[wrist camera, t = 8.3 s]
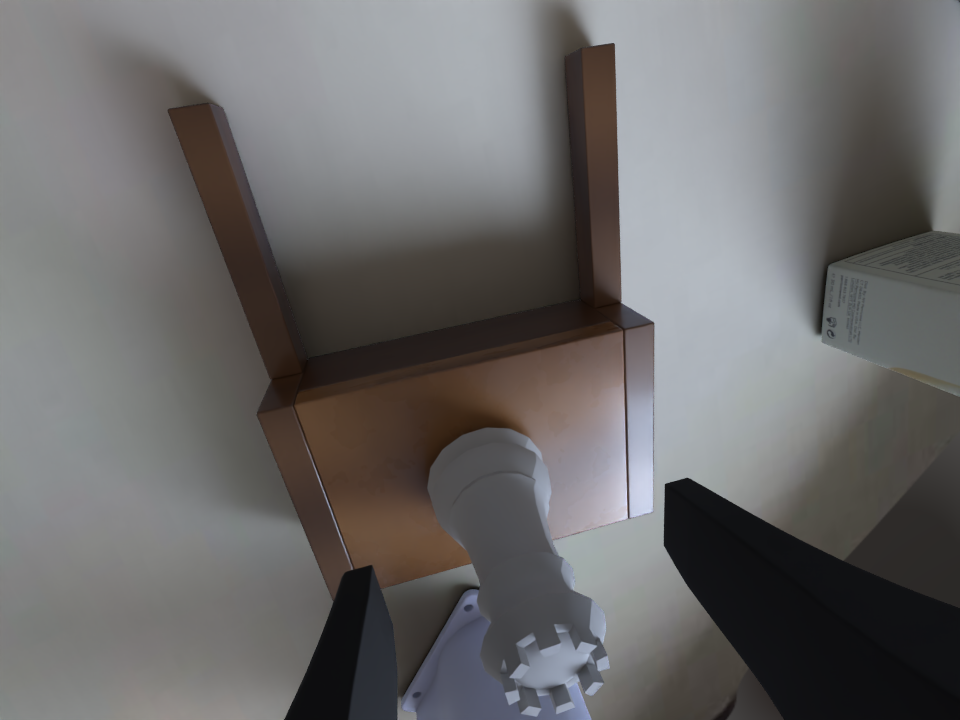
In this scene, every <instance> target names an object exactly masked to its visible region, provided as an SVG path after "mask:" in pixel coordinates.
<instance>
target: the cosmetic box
mask: <svg viewBox="0 0 960 720" xmlns="http://www.w3.org/2000/svg"><path fill="white" fill-rule="evenodd" d="M822 323H823V325H822V342H823V343H824V344H826V345H829V346H831V347H834V348H837V349H839V350H842V351H844V352H847V353H849V354H852V355H854V356H857V357H860V358H862V359H865V360H867V361H870V362H872V363H875V364H877V365H880V366H883V367H885V368H888V369H891V370H893V371H896V372H899V373H901V374H903V375H906V376H908V377H911V378H914V379H917V380H919V381H921V382H924V383H926V384H929V385H932V386H934V387H936V388H939V389H942V390H944V391H947V392H949V393H952V394H954V395H957V396H959V397H960V234H956V233H948V232H940V231H930V232H927V233H924V234H920V235H917V236H913V237H910V238H906V239H903V240H900V241H897V242H894V243H890V244H887V245H884V246H881V247H878V248H875V249H872V250H869V251H866V252H863V253H860V254H858V255H855V256H852V257H849V258H846V259H843V260H841V261H838V262H835V263H832V264H830V265H829V266H828V273H827V282H826V290H825V300H824V310H823V322H822Z"/></svg>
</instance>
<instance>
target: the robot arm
mask: <svg viewBox="0 0 960 720" xmlns="http://www.w3.org/2000/svg"><path fill="white" fill-rule="evenodd" d="M664 547H665V548H666V550H667V552H668V554H669V555H670V557H671V559H672V561H673V562H674V564H675V566H676V568H677V569H678V571H679V573H680V574H681V576H682V578H683V579H684V581H685V583H686V584H687V586H688V587H689V588H690V590H691V591H692V592H693V594H694V595H695V597H696V598H697V599H698V601H699V602H700V603H701V605H702V606H703V607H704V609H705V610H706V611H707V613H708V614H709V615H710V617H711V618H712V619H713V621H714V622H715V623H716V625H717V626H718V627H719V629H720V630H721V631H722V633H723V634H724V635H725V637H726V638H727V639H728V641H729V642H730V643H731V644H732V646H733V647H734V648H735V650H736V651H737V652H738V654H739V655H740V656H741V658H742V659H743V660H744V662H745V663H746V664H747V666H748V667H749V668H750V670H751V671H752V672H753V674H754V675H755V676H756V678H757V679H758V681H759V682H760V684H761V685H762V686H763V688H764V689H765V691H766V692H767V693H768V695H769V697H770V698H771V700H772V701H773V703H774V704H775V706H776V707H777V709H778V711H779V712H780V714H781V716H782V717H783V718H784V720H960V608H958V607H955V606H952V605H950V604H947V603H944V602H942V601H939V600H936V599H934V598H931V597H928V596H925V595H923V594H920V593H917V592H915V591H913V590H910V589H907V588H905V587H902V586H900V585H897V584H895V583H892V582H890V581H888V580H886V579H883V578H881V577H879V576H876V575H874V574H872V573H869V572H867V571H865V570H862V569H860V568H857V567H855V566H853V565H851V564H849V563H847V562H844V561H842V560H840V559H838V558H836V557H834V556H832V555H830V554H828V553H826V552H824V551H822V550H819V549H817V548H815V547H813V546H811V545H809V544H807V543H805V542H803V541H801V540H799V539H797V538H796V537H794V536H792V535H790V534H788V533H786V532H784V531H782V530H780V529H778V528H776V527H775V526H773V525H771V524H769V523H767V522H765V521H764V520H762V519H760V518H758V517H756V516H755V515H753V514H751V513H749V512H747V511H746V510H744V509H742V508H740V507H739V506H737V505H735V504H733V503H732V502H730V501H728V500H726V499H725V498H723V497H721V496H719V495H718V494H716V493H714V492H712V491H711V490H709V489H707V488H705V487H704V486H702V485H700V484H698V483H697V482H695V481H693V480H691V479H689V478H685V479H681V480H678V481H674V482H670V483H667V484H665V507H664ZM478 592H479V590H475V589H471V590H468V591H466V592H465V593H464V594H463V595H462V597H461V599H460V600H459V602H458V604H457V605H456V607H455V609H454V611H453V612H452V614H451V616H450V617H449V619H448V621H447V623H446V624H445V626H444V628H443V629H442V631H441V633H440V635H439V636H438V638H437V640H436V641H435V643H434V645H433V647H432V648H431V650H430V652H429V653H428V655H427V657H426V659H425V660H424V662H423V664H422V666H421V667H420V669H419V671H418V672H417V674H416V676H415V678H414V679H413V681H412V683H411V684H410V686H409V688H408V690H407V691H406V693H405V695H404V696H403V698H402V700H401V707H402V709H403V710H404V711H409V712H416V715H417V720H591V717H590V715H589V712H588V710H587V707H586V705H585V702H584V699H583V697H582V694H581V692H580V689H579V687H578V684H577V683H575V684H574V685H572V686H571V687H569V688H568V689H569V692H570V694H571V697H572V700H573V703H574V705H575V708H572V709H569V710H567V711H564V712H561V713H559V714H556V713H555V710H554V707H553V704H552V701H551V698H550V695H544V696H538V698H539V702H540V705H541V708H542V709H541V710H540V712H539V714H538V716H537V717H536V716H530V715H525V714H520V710H519V707H518V703H517V702H515V703H513V704H511V705H509V704H508V701H507V698H506V695H505V691H504V687H503V684H501V683H500V682H498V681H497V680H496V679H494V678H493V677H492V676H491V675H489V674H488V673H487V672H485V670H484V667H483V664H482V661H481V658H480V652H481V648H482V643H483V639H484V636H485V634H486V632H487V630H488V628H489V625H490V622H489V621H488V620H487V619H486V618H485V617H483V616H482V615H481V613H480V610H479V607H478V604H477V597H478ZM466 605H467V606H466ZM284 720H397V662H396V651H395V641H394V631H393V623H392V621H391V618H390V615H389V612H388V609H387V606H386V603H385V600H384V597H383V594H382V591H381V589H380V586H379V583H378V580H377V577H376V574H375V571H374V568H373V565H369V566H365V567H361V568H358V569H354V570H351V571H347V572H345V573H344V574H343V576H342V577H341V581H340V584H339V587H338V590H337V593H336V596H335V599H334V602H333V605H332V608H331V611H330V613H329V616H328V619H327V621H326V624H325V627H324V629H323V632H322V635H321V637H320V640H319V642H318V644H317V647H316V649H315V652H314V654H313V657H312V659H311V661H310V664H309V666H308V669H307V671H306V673H305V676H304V678H303V680H302V682H301V685H300V687H299V689H298V691H297V693H296V695H295V698H294V700H293V702H292V704H291V706H290V708H289V710H288V713H287V715H286V717H285V719H284Z"/></svg>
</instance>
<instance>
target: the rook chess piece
mask: <svg viewBox="0 0 960 720" xmlns="http://www.w3.org/2000/svg"><path fill="white" fill-rule="evenodd" d="M427 489H428V492H429V495H430V498H431V501H432V506H433V509H434V512H435V515H436V518H437V521H438V523H439V524H440V526H441V527H442V529H444V530H445V531H446V532H447V533H448V534H449V535H450V536H451V537H452V538H453V539H454V540H455V541H456V542H458V543H459V544H460V545H461V546H462V547H463V548H464V549H465V550H467V552H468V554H469V557H470V559H471V561H472V564H473V566H474V568H475V571H476V573H477V575H478V578H479V582H480V588H479V592H478V597H477V604H478V607H479V610H480V613H481V615H482V616H483V617H485V618H486V619H487V620H488V621H489V622H490V625H489V628H488V630H487V632H486V634H485V636H484V639H483V643H482V648H481V652H480V658H481V661H482V664H483V667H484V670H485V672H487V673H488V674H489V675H491V676H492V677H493V678H494V679H496V680H497V681H498V682H500V683H501V684H503V687H504V691H505V695H506V698H507V701H508V704H509V705H511V704H513V703H515V702H517V703H518V707H519V710H520V714H525V715H530V716H536V717H537V716H538V714H539V712H540V710H541V709H542V708H541V705H540V702H539V698H538V696H544V695H550V698H551V701H552V704H553V707H554V710H555V713H556V714H559V713H561V712H564V711H567V710H569V709H572V708H575V705H574V703H573V700H572V697H571V694H570V692H569V689H568V688H569V687H571V686H572V685H574V684H575V683H577V682H578V681H580V682H581V685H582V688H583V690H584V693H586V694H588V695H590V696H593V695H594V693H595V692H596V691H597V690H598V689H599V688H600V687H601V686H602V684H603V683H604V681H603V679H602V677H601V675H600V672H599V671H601V670H605V669H610V668H609V662H608V656H607V653H606V651H605V649H604V647H603V645H602V644H603V640H604V636H605V632H606V622H605V616H604V611H603V610H602V609H601V608H600V607H599V606H598V605H597V604H596V603H595V602H594V601H593V600H592V599H591V598H589V597H586V596H584V595H582V594H580V593H577V592H575V591H573V587H574V584H575V578H574V572H573V568H572V567H571V566H570V565H569V564H568V563H567V562H566V560H565V559H564V558H562V557H559V555H558V553H557V551H556V549H555V547H554V544H553V541H552V537H551V534H550V530H549V527H548V523H547V515H548V512H549V508H550V507H549V500H550V497H551V493H552V492H551V484H550V479H549V474H548V469H547V466H546V465H545V464H544V463H543V459H542V454H541V452H540V450H539V449H538V448H537V447H536V445H535V444H534V443H533V442H532V441H531V439H530V438H529V437H527V436H525V435H523V434H520V433H518V432H516V431H514V430H512V429H508V428H483V429H480V430H476V431H473V432H470V433H467V434H463V435H462V436H460V437H459V438H457V439H456V440H455V441H453V442H452V443H451V444H449V445H448V446H446V447H445V448H444V449H443V450H442V451H441V453H440V454H439V456H438V457H437V459H436V460H435V462H434V463H433V465H432V466H431V468H430V473H429V480H428V486H427Z"/></svg>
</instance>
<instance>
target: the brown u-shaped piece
mask: <svg viewBox="0 0 960 720" xmlns="http://www.w3.org/2000/svg"><path fill="white" fill-rule="evenodd" d="M565 67H566V83H567V98H568V114H569V130H570V145H571V161H572V176H573V192H574V207H575V223H576V238H577V254H578V269H579V285H580V298H581V300H575V301H570V302H566V303H561V304H556V305H552V306H547V307H543V308H538V309H533V310H529V311H524V312H520V313H515V314H510V315H506V316H501V317H497V318H492V319H487V320H483V321H478V322H474V323H469V324H464V325H460V326H455V327H451V328H446V329H441V330H437V331H432V332H428V333H423V334H418V335H414V336H409V337H405V338H400V339H395V340H391V341H386V342H382V343H377V344H372V345H368V346H363V347H359V348H354V349H349V350H345V351H340V352H336V353H331V354H326V355H322V356H317V357H313V358H309V359H308V360H307V355H306V352H305V349H304V346H303V343H302V340H301V337H300V334H299V331H298V328H297V325H296V323H295V320H294V317H293V314H292V311H291V308H290V305H289V302H288V299H287V296H286V293H285V290H284V287H283V284H282V281H281V278H280V275H279V272H278V269H277V266H276V263H275V260H274V257H273V254H272V251H271V248H270V245H269V242H268V239H267V237H266V234H265V231H264V228H263V225H262V222H261V219H260V216H259V213H258V210H257V207H256V204H255V201H254V198H253V195H252V192H251V189H250V186H249V183H248V180H247V177H246V174H245V171H244V168H243V165H242V162H241V159H240V156H239V153H238V151H237V148H236V145H235V142H234V139H233V136H232V133H231V130H230V127H229V124H228V121H227V118H226V115H225V112H224V109H223V108H222V107H219V106H216V105H213V104H210V103H203V104H196V105H190V106H183V107H176V108H169V109H168V113H169V116H170V118H171V121H172V123H173V126H174V129H175V131H176V134H177V137H178V139H179V142H180V144H181V147H182V150H183V152H184V155H185V158H186V160H187V163H188V165H189V168H190V171H191V173H192V176H193V178H194V181H195V184H196V186H197V189H198V192H199V194H200V197H201V199H202V202H203V205H204V207H205V210H206V213H207V215H208V218H209V220H210V223H211V226H212V228H213V231H214V233H215V236H216V239H217V241H218V244H219V247H220V249H221V252H222V254H223V257H224V260H225V262H226V265H227V267H228V270H229V273H230V275H231V278H232V281H233V283H234V286H235V288H236V291H237V294H238V296H239V299H240V302H241V304H242V307H243V309H244V312H245V315H246V317H247V320H248V322H249V325H250V328H251V330H252V333H253V336H254V338H255V341H256V343H257V346H258V349H259V351H260V354H261V357H262V359H263V362H264V364H265V367H266V370H267V372H268V375H269V377H270V379H272V380H271V382H270V384H269V387H268V389H267V391H266V393H265V396H264V398H263V400H262V402H261V404H260V407H259V409H258V411H257V417H258V419H259V422H260V424H261V426H262V429H263V431H264V434H265V436H266V439H267V441H268V443H269V446H270V448H271V451H272V453H273V456H274V458H275V461H276V463H277V465H278V468H279V470H280V473H281V475H282V478H283V480H284V483H285V485H286V487H287V490H288V492H289V495H290V497H291V500H292V502H293V504H294V507H295V509H296V512H297V514H298V517H299V519H300V522H301V524H302V526H303V529H304V531H305V534H306V536H307V539H308V541H309V543H310V546H311V548H312V551H313V553H314V556H315V558H316V561H317V563H318V565H319V568H320V570H321V573H322V575H323V578H324V580H325V582H326V585H327V587H328V590H329V592H330V595H331V597H332V600H333V601H334V599H335V596H336V593H337V590H338V587H339V584H340V581H341V577H342V576H343V574H344V573H345V572H347V571H351V570H354V569H358V568H361V567H365V566H369V565H373V568H374V571H375V574H376V577H377V580H378V583H379V586H380V589H382V588H386V587H389V586H393V585H397V584H400V583H404V582H407V581H411V580H414V579H418V578H421V577H425V576H428V575H432V574H435V573H439V572H443V571H446V570H450V569H453V568H457V567H460V566H464V565H467V564H471V563H472V561H471V559H470V557H469V554H468V552H467V550H465V549H464V548H463V547H462V546H461V545H460V544H459V543H458V542H456V541H455V540H454V539H453V538H452V537H451V536H450V535H449V534H448V533H447V532H446V531H445V530H444V529H442V527H441V526H440V524H439V523H438V521H437V518H436V515H435V512H434V509H433V506H432V501H431V498H430V495H429V492H428V489H427V486H428V480H429V473H430V468H431V466H432V465H433V463H434V462H435V460H436V459H437V457H438V456H439V454H440V453H441V451H442V450H443V449H444V448H445V447H446V446H448V445H449V444H451V443H452V442H453V441H455V440H456V439H457V438H459V437H460V436H462V435H463V434H467V433H470V432H473V431H476V430H480V429H483V428H508V429H512V430H514V431H516V432H518V433H520V434H523V435H525V436H527V437H529V438H530V439H531V441H532V442H533V443H534V444H535V445H536V447H537V448H538V449H539V450H540V452H541V454H542V459H543V463H544V464H545V465H546V466H547V469H548V474H549V479H550V484H551V492H552V493H551V497H550V500H549V507H550V508H549V512H548V515H547V523H548V527H549V530H550V534H551V537H552V540H556V539H559V538H563V537H566V536H570V535H574V534H577V533H581V532H584V531H588V530H591V529H595V528H598V527H602V526H605V525H609V524H612V523H616V522H620V521H623V520H627V519H628V518H629V519H631V518H634V517H638V516H641V515H645V514H648V513H652V512H653V493H654V322H652V321H651V320H649V319H647V318H646V317H644V316H642V315H641V314H639V313H637V312H635V311H634V310H632V309H630V308H629V307H627V306H625V305H624V304H622V303H621V263H620V225H619V187H618V149H617V111H616V73H615V44H614V43H610V44H603V45H597V46H590V47H583V48H580V49H578V50H576V51H574V52H573V53H571V54H569V55H567V56H565Z"/></svg>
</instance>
